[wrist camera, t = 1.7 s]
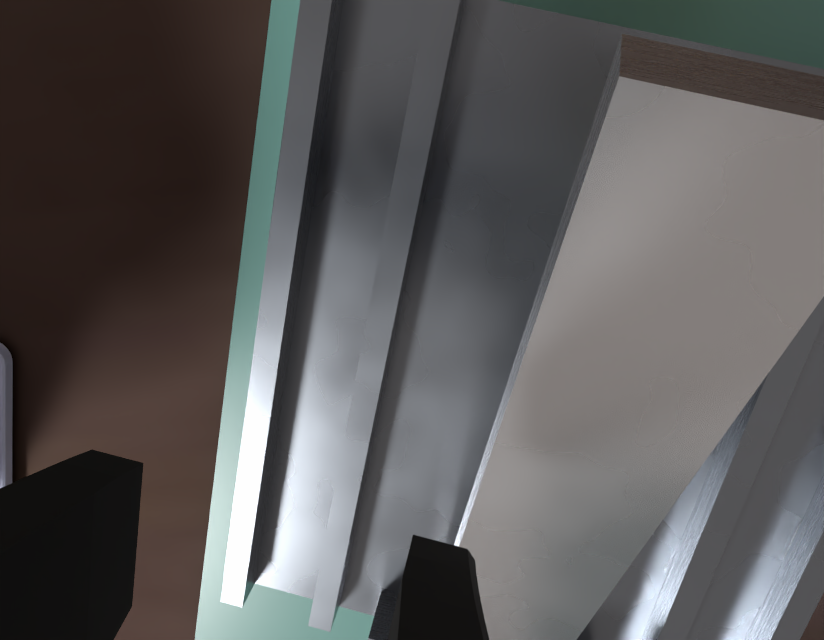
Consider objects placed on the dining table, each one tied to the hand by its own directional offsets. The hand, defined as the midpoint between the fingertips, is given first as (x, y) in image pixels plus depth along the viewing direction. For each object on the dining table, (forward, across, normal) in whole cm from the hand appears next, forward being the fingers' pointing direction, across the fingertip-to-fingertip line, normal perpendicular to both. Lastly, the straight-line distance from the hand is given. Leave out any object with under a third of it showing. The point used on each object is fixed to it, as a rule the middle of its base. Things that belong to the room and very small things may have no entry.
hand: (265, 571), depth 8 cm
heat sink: (+10, -4, -1) cm, 10 cm away
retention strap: (+4, -3, 0) cm, 5 cm away
